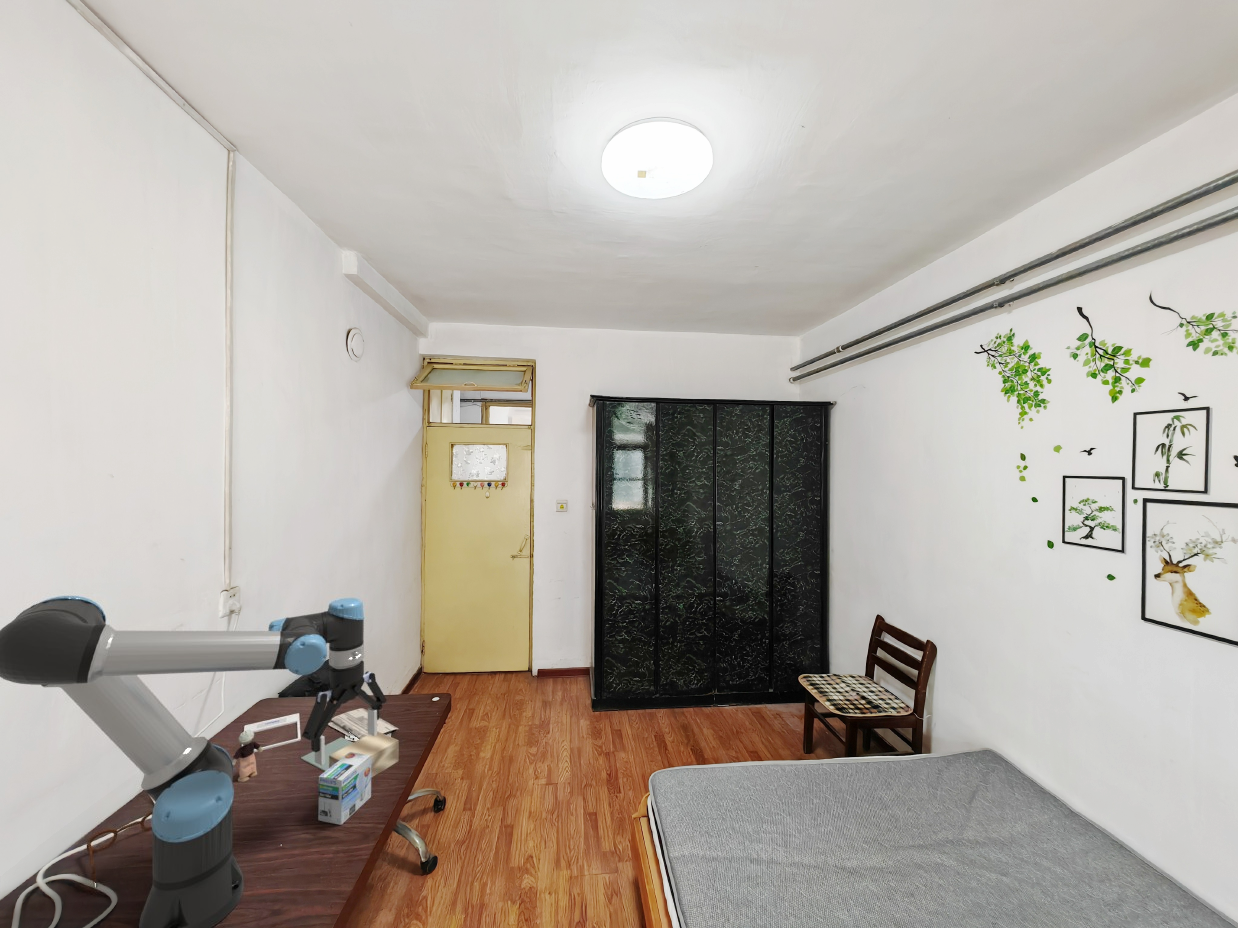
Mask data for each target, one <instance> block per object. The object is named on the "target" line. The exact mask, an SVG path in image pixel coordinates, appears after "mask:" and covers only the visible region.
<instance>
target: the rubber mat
mask: <svg viewBox="0 0 1238 928" xmlns="http://www.w3.org/2000/svg"><path fill="white" fill-rule="evenodd" d="M352 743H354V742H353V741H350V740H348V739H346V738H343V737H341V736H340V737H339V738H337V739H335V740H333V741H331V742H329V743H327V744H325V764H324V765H322V766H321V765H320V764H318V763H316V762H315V752H313V751H311V752H309V753H306V754H305V755H304V756H301V757H300V759H301V760H303V761H304V762H306V763H308V764H311V766H314V767H316V768H318V769H319V770H322V771H324V772H325V771H327V770H328V769H329V755H331V754H333V753H335V752H337V751H338V750H340V749H342V748H344V747H346V746H348V745H350V744H352Z"/></svg>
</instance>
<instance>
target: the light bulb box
mask: <svg viewBox="0 0 1238 928" xmlns="http://www.w3.org/2000/svg"><path fill="white" fill-rule="evenodd" d="M370 798H372V778H371V755H364V754H358V753H353V752H349V753H348V754H347V755H345V756H344V757H343V758H342V759H340V760H339V761H338V762H337V763H335V764H334V765H333V766H332V767H330V768H329V769H328V770H327V771H324V772H322V773H321V774H320V775H319V776H318V818H317V819H318V821H319V822H320V821H321V822H324V823H330V824H334V825H339V826H340V825H341V826H342V825H344V823H345V822H346V821H347V820H348V819H350V818H351V816H352V815H354V814H355V813H356V812H357V811H358V810H359V809H360V808H361V807H362V806H364V804H365V803H366V802H367V801H369V799H370Z"/></svg>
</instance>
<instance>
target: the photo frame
mask: <svg viewBox="0 0 1238 928" xmlns="http://www.w3.org/2000/svg"><path fill="white" fill-rule="evenodd" d="M300 720H301V719H300V713H299V712H298V713H293V714H290V715H285V716H281V717H277V718H272V719H268V720H263V721H258V722H254V723H250V724H246V725H244V726H243V732H244V731H246V730H251V731H252V732H253V733H254V734H255V733H258V732H262V731H266V730H270V729H271V730H272V729H275V728H279V727H282V726H287V725H292V724H295V723H296V724H297V725H296V728H297V738H294V739H290V740H286V741H282V742H277V743H275V744H274V743H273V744H270V745H267V746H263V747H262V746H261V749H263V751H264V750H265V751H266V750H269V749H272V748H276V747H280V746H283V745H288V744H292V743H295V742H300V741H301V739H302V738H301V737H302V736H301V724H300ZM242 746H243V745H242V744H241V747H242ZM254 753H258V751H257V749H254Z"/></svg>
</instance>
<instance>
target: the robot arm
mask: <svg viewBox="0 0 1238 928" xmlns="http://www.w3.org/2000/svg"><path fill="white" fill-rule="evenodd" d="M364 619H365V617H364V605H363V601H362V600H361V599H360V598H355V597H346V598H339V599H337V600H333V601H331V602H330V603H329V604H328V608H327V610H325V611H322V612H317V613H311V614H304V615H297V616H292V617H291V616H290V617H289V616H287V617H285V618H281V619H276V620H273V621H271V622H270V623H269V625H268V630H264V631H263V630H243V631H242V630H116V629H115V628H113V627H112V626H111V625H110V624H107V616H106V614H105V612H104V610H103V608H102V607H101V606H100V605H99V604H98V603H97V602H96V601H94V600H92V599H89V598H88V597H83V596H79V595H62V596H61V595H60V596H55V597H51V598H48V599H47V598H46V599H45V600H42V601H39V602H37V603H35V604H33V605H31V606H30V607H28V608H26V609H24V610H23V611H22V612H20V613H19V614H18V615H17V616H16V617H15V618H14V619H13V620H11V621H10V622H9V623H7V624H6V625H5V626H4V627H2V628H1V629H0V678H1V679H2V680H5V681H8V682H11V683H14V684H21V685H31V686H33V685H35V686H38V685H39V686H41V687H43V688H61V689H62V690H63V692H64V693H65V694H66V695H67V696H69V698H70V699H71V700H72V701H73V703H75V704H76V705H77V706H78V707H79V708H80V709H81V710H82V712H84V714H86V715H87V716H88V718H89V719H91V721H93V722H94V724H95V726H98V728H99V729H100V731H102V732H103V733H104V734H105V735H106V736H107V737H108V738H109V739H110V740H111V742H113V743H114V744H115V746H116V747H118V749H119V750H120V751H121V752H122V753H123V754H124V755H126V757H127V758H128V759H129V760H130V761H131V762H132V763H133V764H134V765H135V767H136V768H138V770H140V772H142V773H143V774H144V775H143V778H142V780H141V784H140V787H141V789H142V790H143V791H144V792H145V793H146V794H147V795H148V796H149V797H150V798H151V799H152V800H153V801H154V805H153V809H152V811H153V813H152V815H151V818H150V827H152V829H151V830H152V886H151V887H150V888H151V889H150V891H149V894H148V897H147V899H146V901H145V904H144V906H143V909H142V911H141V913H140V914H141V915H140V918H139V923H138V924H139V927H138V928H213V927H215V926H216V925H218V924H219V923H220V922H221V921H223V919H225V918H226V917H227V916H229V914H230V913H231V912H232V911H233V910H234V909H235V908H236V906H237V905H238V904H239V902H240V900H241V898H242V896H243V893H244V874H243V872H242V869H241V868H240V866H239V864H238V862H237V860H236V858H235V856H234V854H233V824H234V822H233V816H234V815H233V813H234V812H233V808H234V807H233V801H234V798H235V797H234V796H235V792H234V791H235V789H234V786H233V777H234V766H233V764H232V760H233V759H232V758H231V756H230V754H229V752H228V751H227V750H226V749H225V748H223V747H221V746H219V745H217V744H213V743H211V742H210V741H209V740H208V739H207V737H205V736H192V735H191V734H190V733H189V732H188V731H187V729H186V728H185V727H184V726H183V725H182V724H181V723H180V722H179V721H178V719H176V717H174V715H173V713H171V712H170V710H169V709H168V708H167V707H166V706H165V705H164V704H163V703H162V702H161V701H160V700H159V698H158V697H157V696H156V695H155V694H154V693H153V691H151V689H150V688H149V687H148V685H146V684H145V682H143V680H142V679H141V678H140V677H139V675H140V676H142V675H144V676H145V675H147V676H148V675H165V674H166V675H168V674H170V675H172V674H195V673H199V674H200V673H219V672H220V673H221V672H245V671H248V672H249V671H251V672H252V671H269V670H271V671H272V670H273V671H274V670H277V671H278V670H288V671H289V672H290V673H292V674H294V675H296V676H307V675H310V674H313V673H314V672H316V671H318V670H319V669H320V668H321V667H322V666H323V665H324V664H325V662H326V660H327V657H328V665H329V667H328V670H329V671H328V673H329V674H328V676H329V677H328V679H329V680H328V681H329V684H330V686H329V689H328V690H326V691H323V692H322V691H318V692H316V694H315V703H314V705H313V707H312V710H311V712H310V715H309V717H308V720H307V722H306V724H305V726H304V729H303V732H302V734H301V737H302V738H304V739H305V740H307V741H310V747H311V748H310V749H311V752H315V762H316V763H318V764H320V765H321V766H322V765H324V764H325V745H326V744H325V743H326V741H325V739H326V738H325V736H324V735H323V734H324V732H325V730H326V728H327V726H329V725H328V724H329V723H331V719H332V718H334V717H333V716H334V715H335V713H336V712H337V710H339V709H340V708H341V707H342V705H345V704H347V703H348V702H349V701H353V700H355V699H356V698H357V697H358V698H360V699H361V700H362V701H363V702H364V703H366V704H367V705H368V706H370V707H369V708H367V711H368V734H370V735H372V736H376V735H377V720H379V718H380V710H382V708H383V704H386V703H387V697H386V696H385V694H384V693H383V690H382V689H381V687H380V686H379V684H378V681H377V680H376V674H375V673H374V672H371V671H365V662H364V658H365V655H364V654H365V653H364V652H365V651H364V648H365V647H364V639H365V637H364V635H365V634H364V629H365V628H364V626H365V625H364V622H365V621H364ZM327 644H328V647H327ZM365 683H366V685H367V687H368V689H369V690H370V692H371V693H372V695H373V697H374V698H375V699H374V698H373V697H372V696H370V695H369V694H368V693H367V692H366V691H365V690H364V689H362V687H363V686H364V684H365ZM334 702H335V703H334Z"/></svg>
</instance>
